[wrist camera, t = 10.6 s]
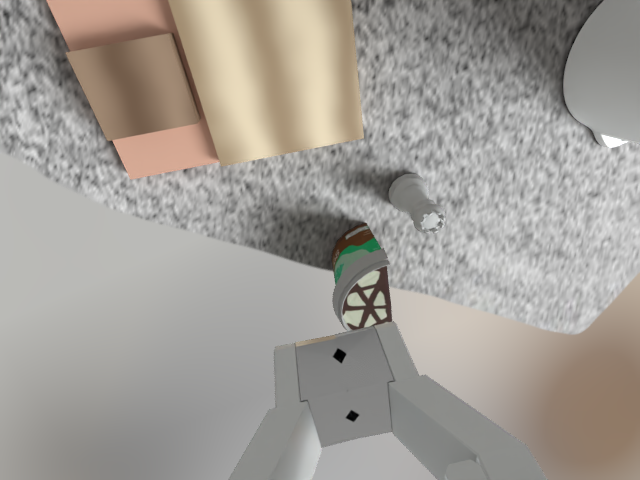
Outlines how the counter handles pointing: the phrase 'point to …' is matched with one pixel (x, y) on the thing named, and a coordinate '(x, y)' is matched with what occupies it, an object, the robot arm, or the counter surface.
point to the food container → (360, 280)
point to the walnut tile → (136, 86)
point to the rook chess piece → (416, 203)
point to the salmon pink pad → (124, 25)
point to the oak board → (272, 73)
